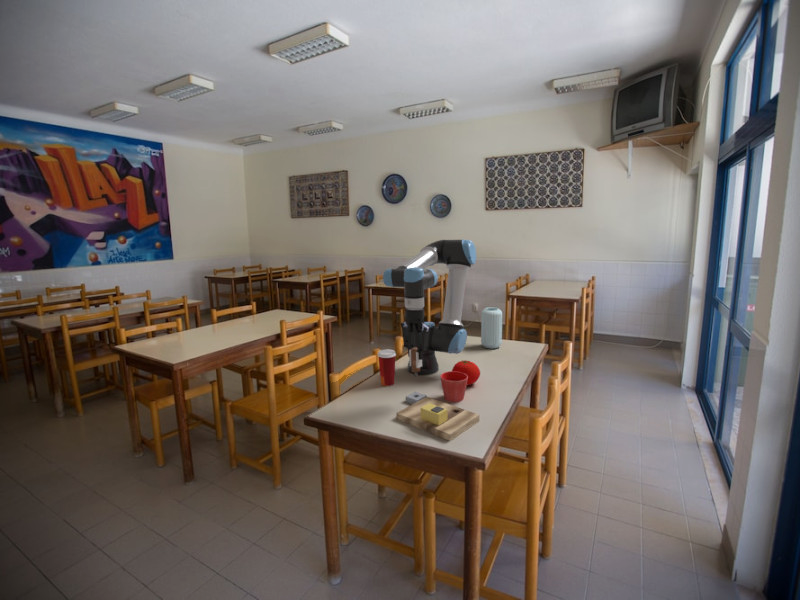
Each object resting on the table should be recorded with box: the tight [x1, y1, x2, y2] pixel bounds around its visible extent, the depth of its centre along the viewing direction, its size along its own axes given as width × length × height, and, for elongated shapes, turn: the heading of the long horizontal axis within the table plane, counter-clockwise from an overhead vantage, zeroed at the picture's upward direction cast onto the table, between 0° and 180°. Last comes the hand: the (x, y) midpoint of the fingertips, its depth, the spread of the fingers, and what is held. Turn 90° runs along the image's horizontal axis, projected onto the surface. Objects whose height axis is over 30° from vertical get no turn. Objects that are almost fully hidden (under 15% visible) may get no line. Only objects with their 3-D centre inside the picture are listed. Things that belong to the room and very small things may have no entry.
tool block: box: [405, 391, 428, 405], centre depth 163 cm, size 6×6×2 cm
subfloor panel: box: [395, 396, 480, 442], centre depth 147 cm, size 24×18×2 cm
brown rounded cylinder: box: [411, 348, 420, 377], centre depth 160 cm, size 3×3×11 cm
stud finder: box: [421, 403, 448, 425], centre depth 142 cm, size 8×5×4 cm, turn 47°
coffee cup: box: [376, 348, 397, 387], centre depth 180 cm, size 8×8×15 cm
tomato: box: [451, 359, 481, 386], centre depth 179 cm, size 11×12×10 cm
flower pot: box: [439, 370, 468, 403], centre depth 164 cm, size 11×11×10 cm
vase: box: [480, 306, 503, 350], centre depth 230 cm, size 12×12×22 cm
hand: (415, 365), depth 160 cm, fingers closed on brown rounded cylinder, 3 cm apart
